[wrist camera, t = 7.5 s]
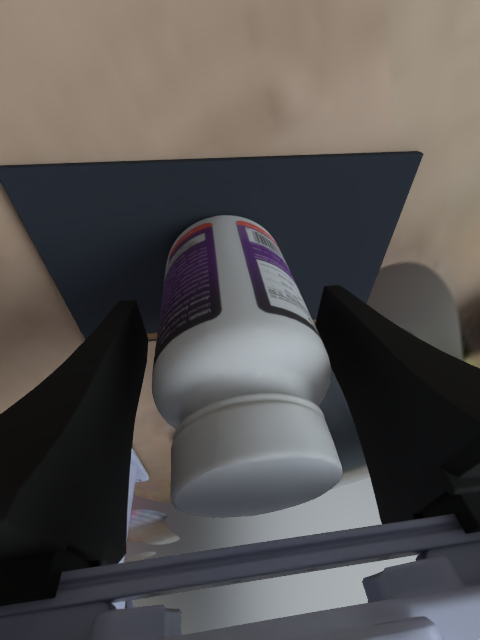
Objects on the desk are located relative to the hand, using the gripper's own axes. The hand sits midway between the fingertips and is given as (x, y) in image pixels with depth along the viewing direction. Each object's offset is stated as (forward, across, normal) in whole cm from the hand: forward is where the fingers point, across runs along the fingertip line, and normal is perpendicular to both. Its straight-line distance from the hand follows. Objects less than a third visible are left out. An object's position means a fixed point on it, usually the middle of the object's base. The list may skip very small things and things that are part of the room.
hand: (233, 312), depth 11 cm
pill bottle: (+3, 0, 0) cm, 3 cm away
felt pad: (+4, 0, 0) cm, 4 cm away
